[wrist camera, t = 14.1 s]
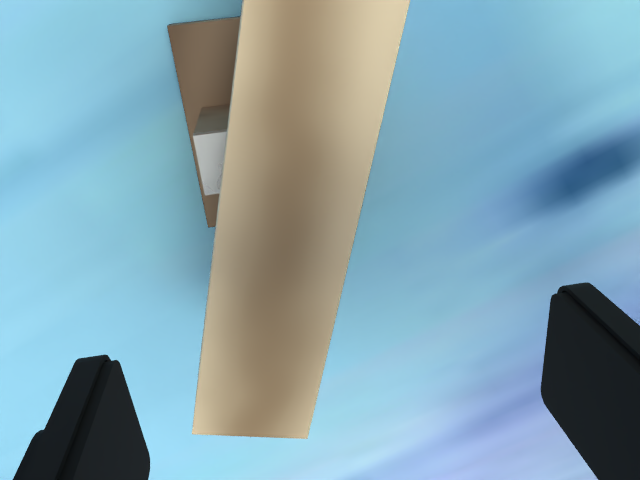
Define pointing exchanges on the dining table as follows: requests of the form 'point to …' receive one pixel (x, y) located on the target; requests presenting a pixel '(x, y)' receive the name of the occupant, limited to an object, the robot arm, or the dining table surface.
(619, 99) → the dining table surface
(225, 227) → the oak batten
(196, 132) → the stand
